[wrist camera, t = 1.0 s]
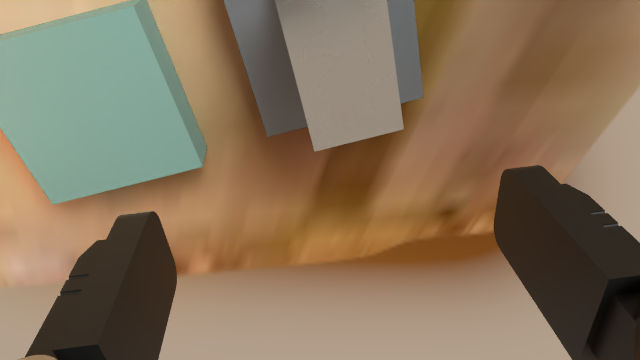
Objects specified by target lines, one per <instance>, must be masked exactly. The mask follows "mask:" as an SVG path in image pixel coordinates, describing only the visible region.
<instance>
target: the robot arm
mask: <svg viewBox="0 0 640 360" xmlns="http://www.w3.org/2000/svg"><path fill="white" fill-rule="evenodd" d="M494 234H495V238H496V241H497V244H498V246H499V248H500V250H501V251H502V253H503V254H504V256H505V257H506V259H507V260H508V262H509V264H510V265H511V267H512V268H513V270H514V271H515V273H516V274H517V275H518V277H519V279H520V280H521V282H522V283H523V285H524V286H525V288H526V290H527V291H528V293H529V294H530V296H531V297H532V299H533V300H534V302H535V303H536V305H537V306H538V308H539V309H540V311H541V312H542V314H543V316H544V317H545V318H546V320H547V322H548V323H549V324H550V326H551V328H552V329H553V330H554V332H555V334H556V335H557V337H558V338H559V340H560V341H561V343H562V345H563V346H564V348H565V349H566V351H567V352H568V354H569V355H570V357H571V358H572V360H640V243H639V242H638V241H637V240H636V239H635V238H634V237H633V236H632V235H631V234H630V233H629V232H627V231H626V230H625V229H624V228H623V227H622V226H618V223H617V221H615V219H613V218H612V217H611V216H610V215H609V214H608V213H606V214H605V210H603V208H602V207H601V206H600V205H598V204H597V203H596V202H595V201H594V200H593V199H592V198H591V197H590V196H589V195H587V194H585V193H583V192H581V191H579V190H577V189H575V188H573V187H571V186H570V185H567V184H560V183H559V182H558V181H557V180H556V179H555V178H554V177H553V176H552V175H551V174H550V173H549V172H548V171H547V170H546V169H545V168H544V167H542V166H539V165H537V166H529V167H520V168H512V169H506V170H505V171H504V172H503V173H502V176H501V181H500V187H499V193H498V199H497V206H496V212H495V218H494ZM176 283H177V273H176V265H175V261H174V258H173V256H172V253H171V250H170V247H169V244H168V241H167V239H166V236H165V233H164V230H163V227H162V224H161V222H160V219H159V217H158V215H157V214H156V213H155V212H154V211H152V212H144V213H136V214H128V215H120V216H118V217H117V219H116V221H115V223H114V225H113V227H112V229H111V231H110V233H109V235H108V237H107V239H106V240H98V241H96V242H95V243H94V244H93V245H92V246H91V247H90V248H89V249H88V250H87V251H85V252H84V253H83V254H82V255H81V256H80V257H79V258H78V260H77V262H76V264H75V266H74V268H73V269H72V271H71V273H70V275H69V280H66V282H65V284H64V286H63V288H62V290H61V292H60V293H61V295H60V296H58V297H57V299H56V301H55V303H54V305H53V306H52V308H51V310H50V312H49V314H48V315H47V317H46V319H45V321H44V323H43V325H42V327H41V329H40V330H39V332H38V334H37V336H36V338H35V339H34V341H33V344H32V345H31V347H30V349H29V351H28V352H27V354H26V356H25V358H21V359H19V360H158V358H159V354H160V350H161V346H162V342H163V338H164V334H165V330H166V326H167V322H168V317H169V314H170V309H171V306H172V302H173V298H174V294H175V290H176Z"/></svg>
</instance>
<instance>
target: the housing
mask: <svg viewBox="0 0 640 360" xmlns="http://www.w3.org/2000/svg"><path fill="white" fill-rule="evenodd" d="M275 3H276V7H277V10H278V14H279V18H280V22H281V26H282V29H283V33H284V37H285V41H286V45H287V49H288V52H289V56H290V60H291V64H292V68H293V71H294V75H295V79H296V83H297V87H298V90H299V94H300V98H301V102H302V106H303V110H304V113H305V117H306V121H307V125H308V129H309V132H310V136H311V140H312V144H313V148H314V151H319V150H323V149H327V148H331V147H335V146H339V145H343V144H347V143H351V142H355V141H359V140H363V139H367V138H371V137H375V136H379V135H383V134H387V133H391V132H395V131H399V130H403V129H404V127H403V120H402V112H401V104H400V97H399V89H398V82H397V74H396V66H395V59H394V51H393V43H392V36H391V28H390V20H389V13H388V5H387V0H275Z"/></svg>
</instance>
